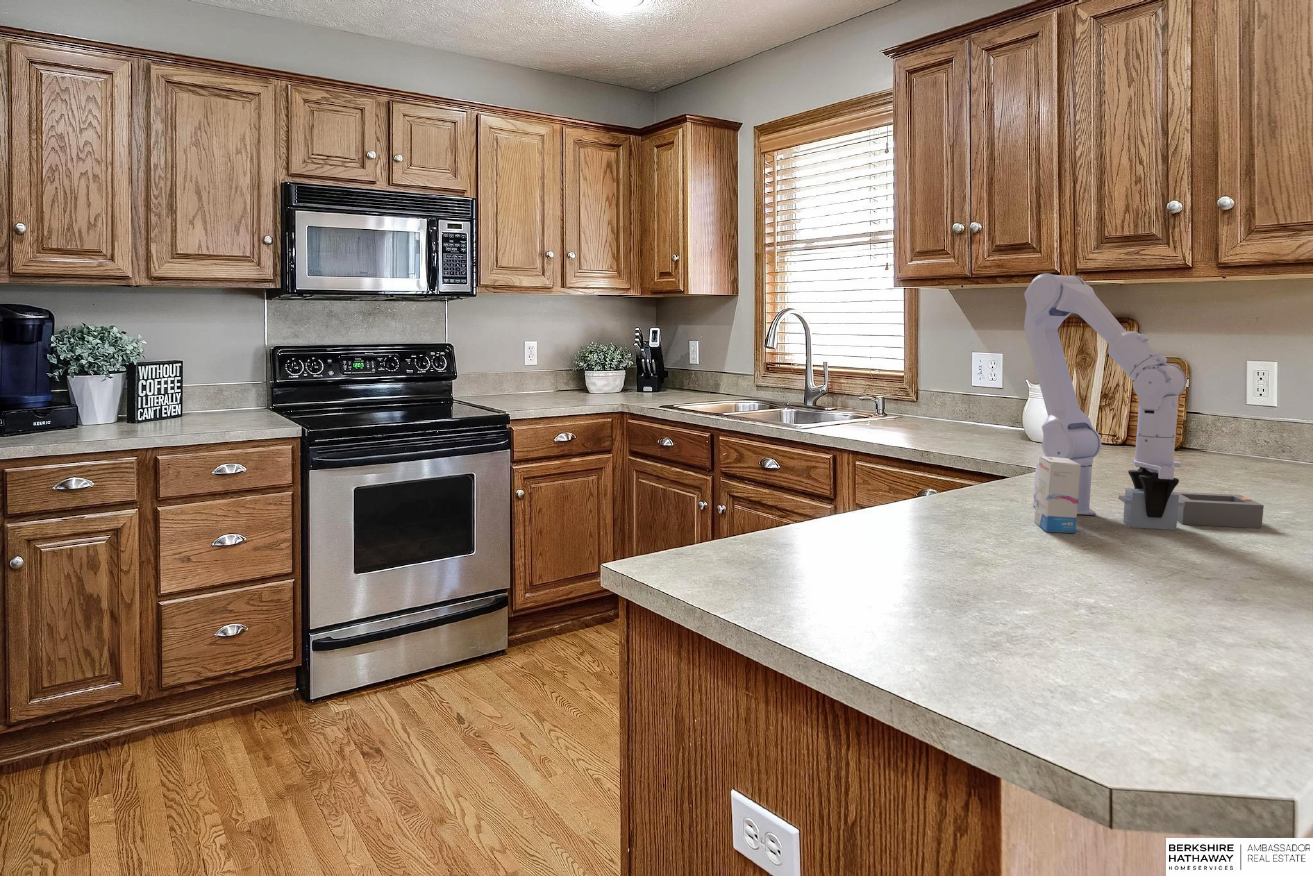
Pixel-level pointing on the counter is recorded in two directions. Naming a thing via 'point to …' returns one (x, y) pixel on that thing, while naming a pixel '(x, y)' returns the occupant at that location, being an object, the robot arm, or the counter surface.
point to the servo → (1138, 516)
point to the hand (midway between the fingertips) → (1150, 514)
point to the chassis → (1219, 510)
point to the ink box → (1057, 494)
